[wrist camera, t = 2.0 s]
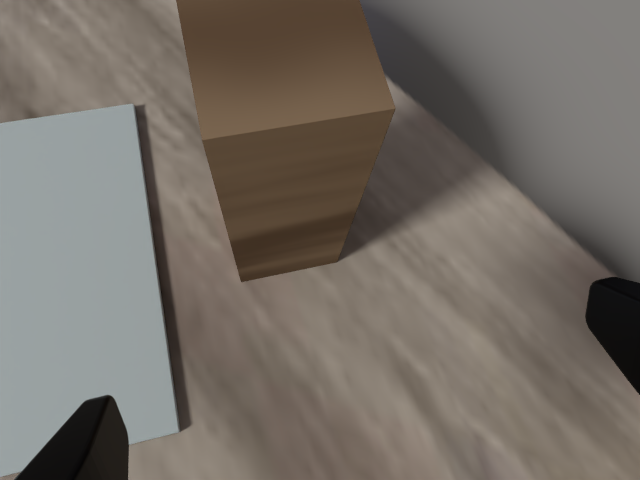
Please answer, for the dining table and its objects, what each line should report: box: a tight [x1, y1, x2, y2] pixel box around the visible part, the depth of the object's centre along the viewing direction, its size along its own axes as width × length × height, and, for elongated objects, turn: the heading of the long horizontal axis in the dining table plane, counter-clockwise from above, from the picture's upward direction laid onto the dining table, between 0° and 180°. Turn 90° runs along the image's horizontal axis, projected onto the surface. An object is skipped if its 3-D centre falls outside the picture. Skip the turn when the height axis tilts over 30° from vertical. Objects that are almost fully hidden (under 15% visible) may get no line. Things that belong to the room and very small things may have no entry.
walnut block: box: [176, 0, 395, 282], centre depth 18 cm, size 5×5×12 cm
